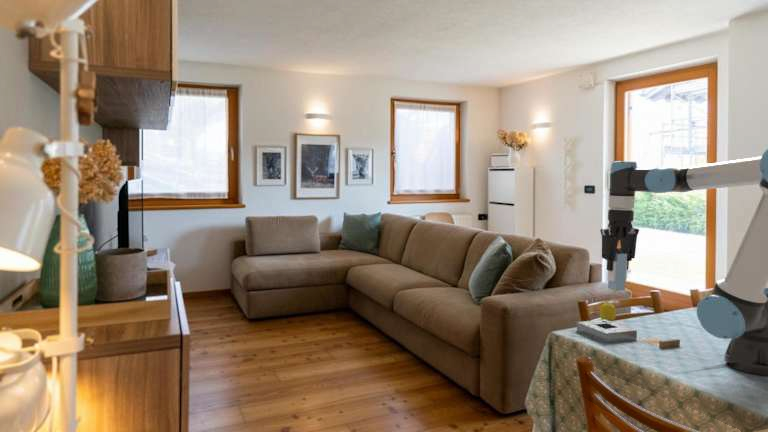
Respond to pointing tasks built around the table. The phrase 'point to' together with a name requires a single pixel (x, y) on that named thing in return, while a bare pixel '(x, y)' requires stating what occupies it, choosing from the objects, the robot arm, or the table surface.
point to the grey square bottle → (619, 271)
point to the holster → (662, 342)
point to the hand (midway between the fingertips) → (616, 280)
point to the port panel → (606, 331)
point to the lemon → (607, 311)
